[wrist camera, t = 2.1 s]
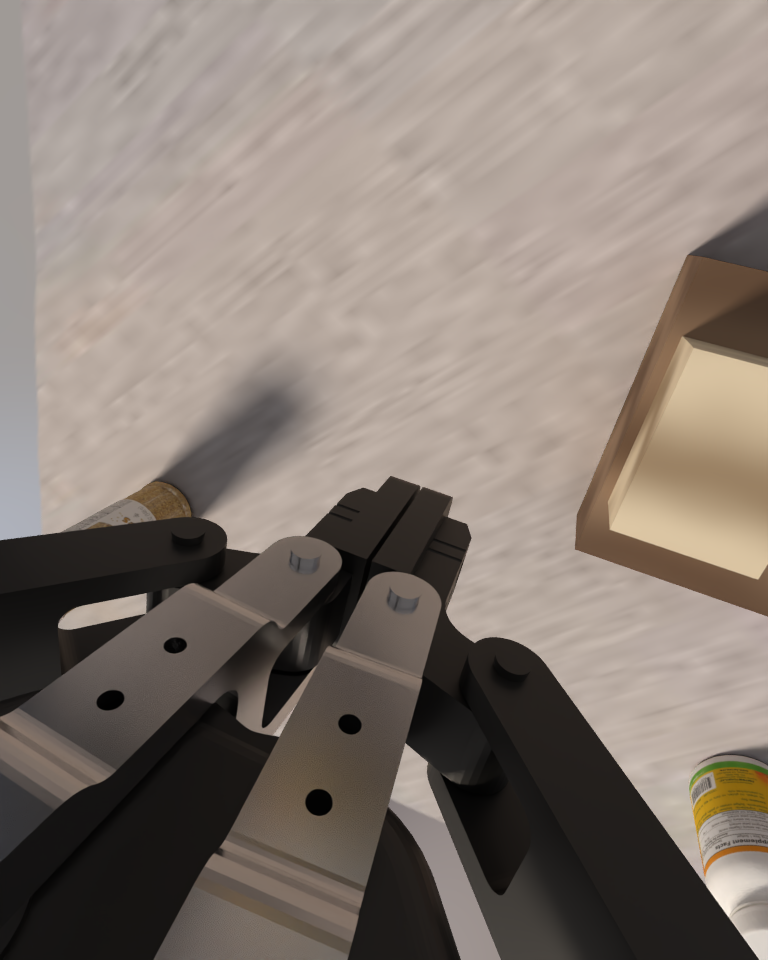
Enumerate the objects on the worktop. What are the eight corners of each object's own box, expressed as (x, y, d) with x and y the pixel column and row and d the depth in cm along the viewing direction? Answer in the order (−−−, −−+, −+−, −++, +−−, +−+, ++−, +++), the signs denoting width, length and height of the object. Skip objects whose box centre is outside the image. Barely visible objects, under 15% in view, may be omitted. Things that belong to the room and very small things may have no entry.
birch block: (682, 336, 23) (693, 347, 20) (841, 377, 22) (875, 395, 19) (608, 501, 27) (609, 529, 24) (740, 544, 25) (758, 579, 23)
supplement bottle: (795, 818, 34) (862, 1007, 26) (698, 817, 37) (730, 990, 28) (778, 750, 33) (843, 926, 24) (678, 753, 35) (706, 914, 27)
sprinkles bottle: (203, 529, 41) (50, 643, 30) (158, 538, 43) (-3, 649, 31) (177, 473, 40) (6, 568, 28) (132, 485, 42) (-45, 579, 30)
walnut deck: (687, 254, 25) (702, 256, 22) (936, 312, 23) (997, 324, 20) (576, 515, 32) (575, 549, 28) (765, 578, 29) (788, 623, 26)
